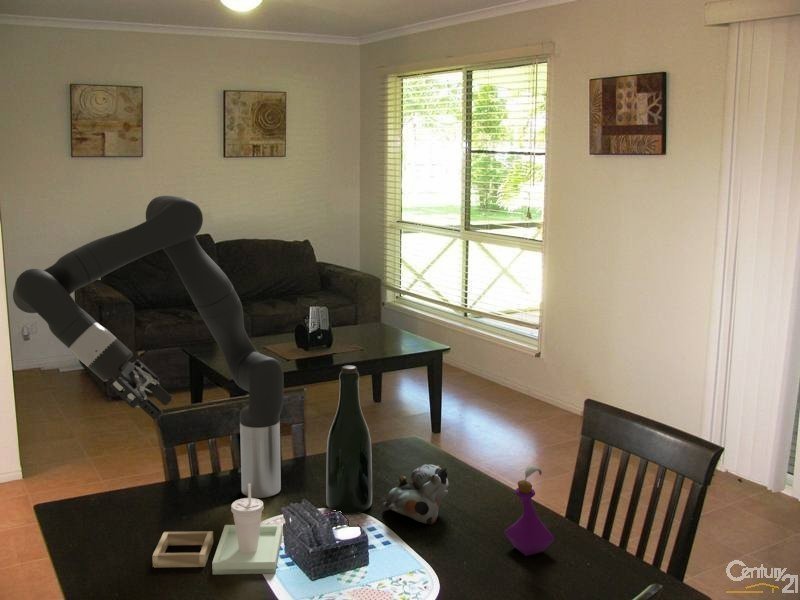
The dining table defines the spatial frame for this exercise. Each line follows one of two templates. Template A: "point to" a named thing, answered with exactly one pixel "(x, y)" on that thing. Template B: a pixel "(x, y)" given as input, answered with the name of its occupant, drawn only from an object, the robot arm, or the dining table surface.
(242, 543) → the smoothie
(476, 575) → the dining table surface
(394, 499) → the lucky cat figurine
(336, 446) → the green wine bottle
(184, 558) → the collar
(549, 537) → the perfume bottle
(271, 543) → the tray
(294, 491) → the dining table surface
